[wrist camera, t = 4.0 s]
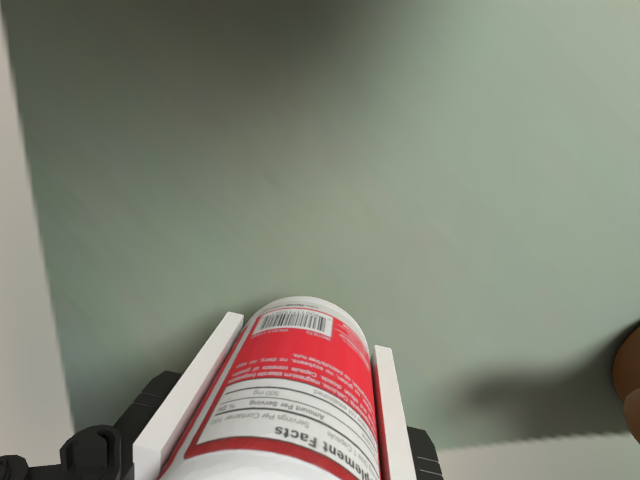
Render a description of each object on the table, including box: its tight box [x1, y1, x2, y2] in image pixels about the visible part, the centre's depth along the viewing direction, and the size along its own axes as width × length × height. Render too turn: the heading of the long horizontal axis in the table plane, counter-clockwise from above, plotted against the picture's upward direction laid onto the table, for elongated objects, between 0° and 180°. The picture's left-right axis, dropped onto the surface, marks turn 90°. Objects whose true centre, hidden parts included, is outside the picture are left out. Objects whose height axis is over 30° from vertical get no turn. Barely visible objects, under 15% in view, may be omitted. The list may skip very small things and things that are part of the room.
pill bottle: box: [157, 296, 381, 480], centre depth 10 cm, size 6×6×11 cm
